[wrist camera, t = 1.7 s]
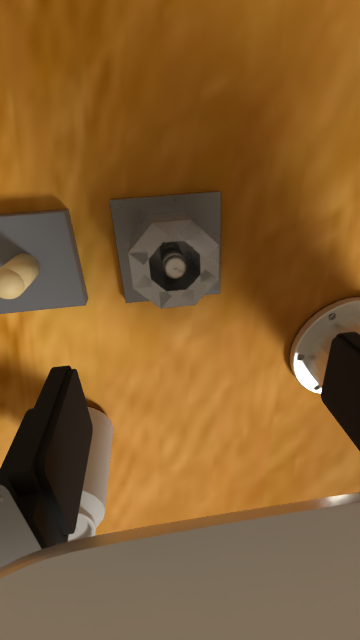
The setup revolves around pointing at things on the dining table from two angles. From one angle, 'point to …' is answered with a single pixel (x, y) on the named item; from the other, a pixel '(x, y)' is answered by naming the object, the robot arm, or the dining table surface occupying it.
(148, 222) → the collar
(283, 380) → the dining table surface
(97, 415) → the can
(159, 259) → the stand
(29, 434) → the robot arm
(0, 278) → the square base with peg
